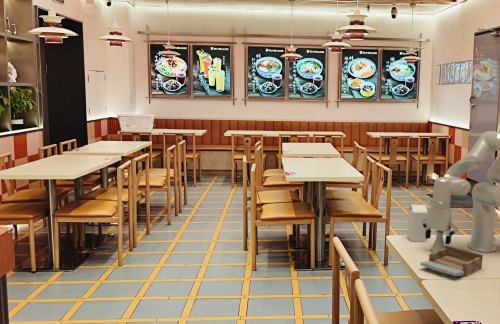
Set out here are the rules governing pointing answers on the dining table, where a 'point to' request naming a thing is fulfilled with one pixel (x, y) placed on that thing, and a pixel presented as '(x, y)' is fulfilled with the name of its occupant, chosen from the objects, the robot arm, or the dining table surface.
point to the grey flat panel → (442, 268)
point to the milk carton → (416, 222)
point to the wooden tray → (457, 259)
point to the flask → (438, 242)
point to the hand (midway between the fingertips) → (437, 241)
